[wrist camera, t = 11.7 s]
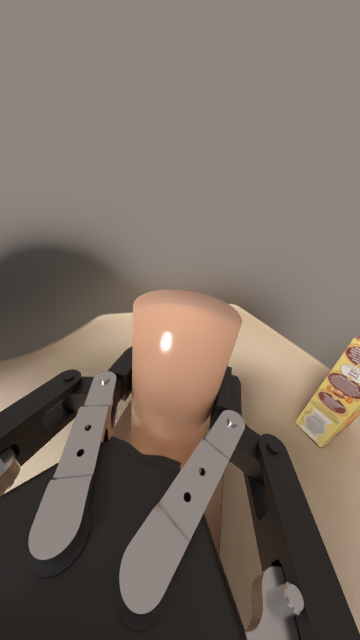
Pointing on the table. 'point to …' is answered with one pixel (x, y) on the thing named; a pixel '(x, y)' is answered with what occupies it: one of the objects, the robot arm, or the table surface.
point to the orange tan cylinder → (177, 368)
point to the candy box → (334, 399)
